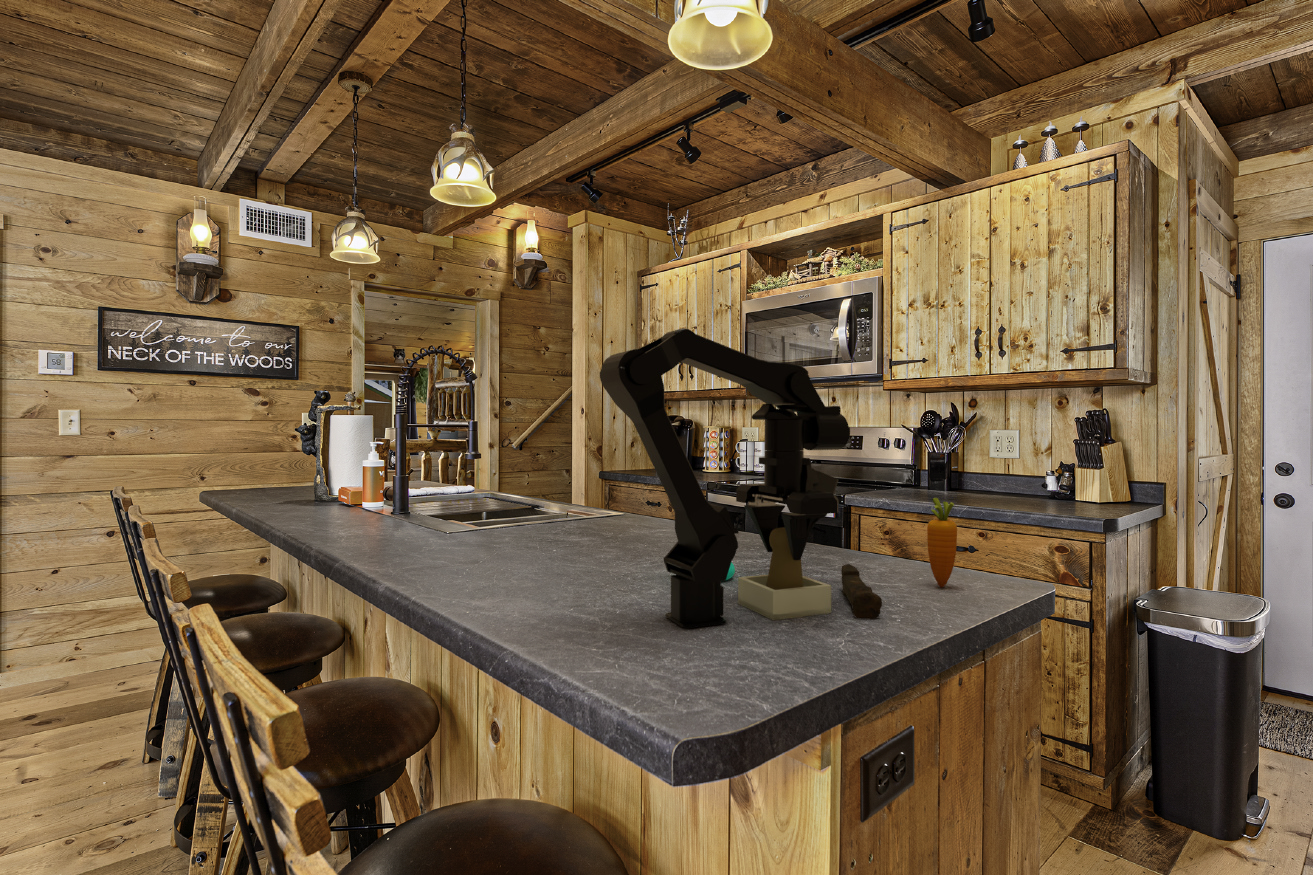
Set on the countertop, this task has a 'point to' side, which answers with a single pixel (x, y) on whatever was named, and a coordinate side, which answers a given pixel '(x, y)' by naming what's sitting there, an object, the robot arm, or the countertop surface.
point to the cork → (783, 563)
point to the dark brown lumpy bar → (860, 594)
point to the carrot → (942, 543)
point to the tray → (784, 598)
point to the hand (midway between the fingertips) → (783, 555)
